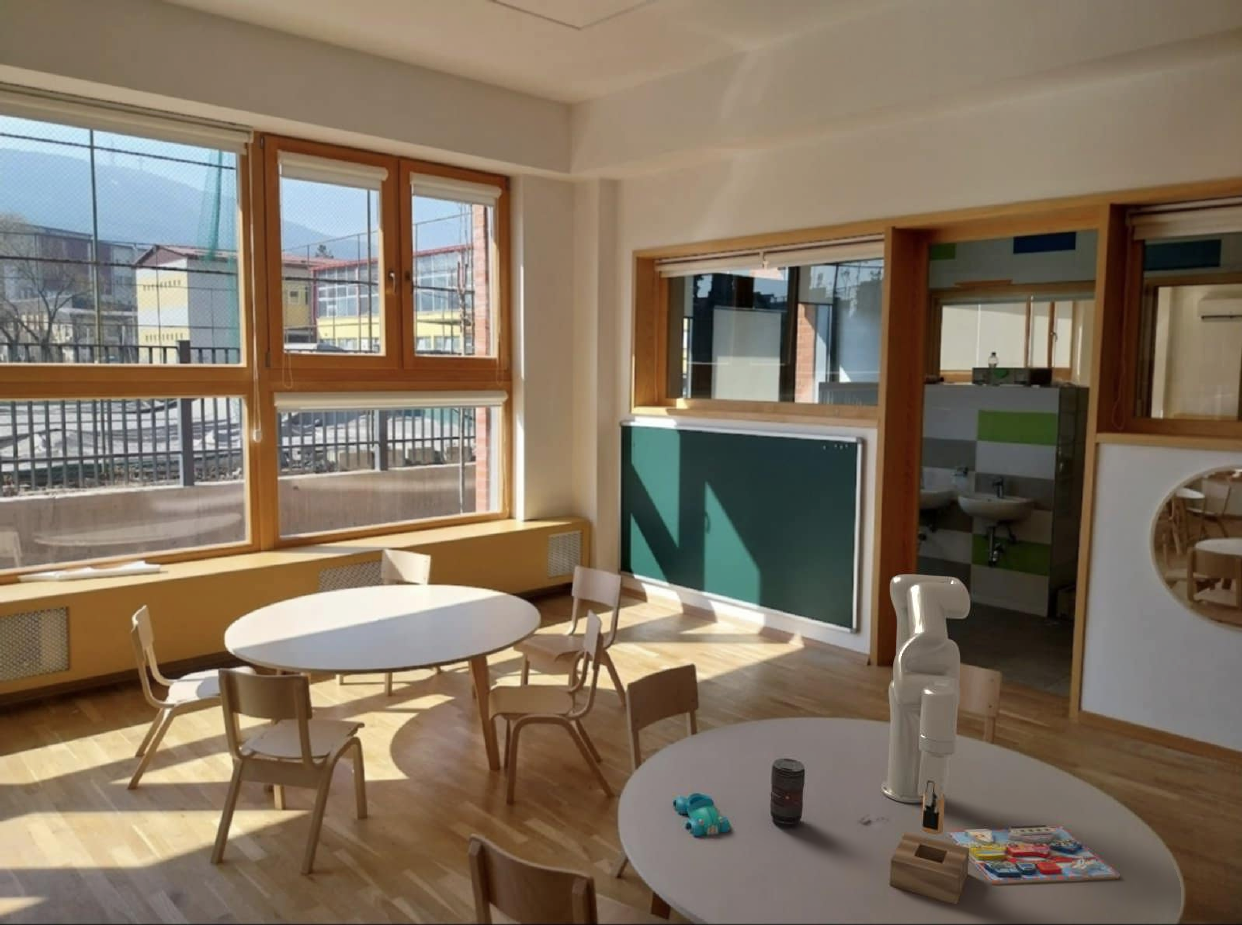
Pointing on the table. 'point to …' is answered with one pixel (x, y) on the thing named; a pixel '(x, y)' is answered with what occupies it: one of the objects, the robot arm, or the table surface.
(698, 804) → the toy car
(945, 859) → the socket block
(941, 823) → the peg
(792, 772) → the camera lens
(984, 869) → the puzzle board
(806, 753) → the table surface
